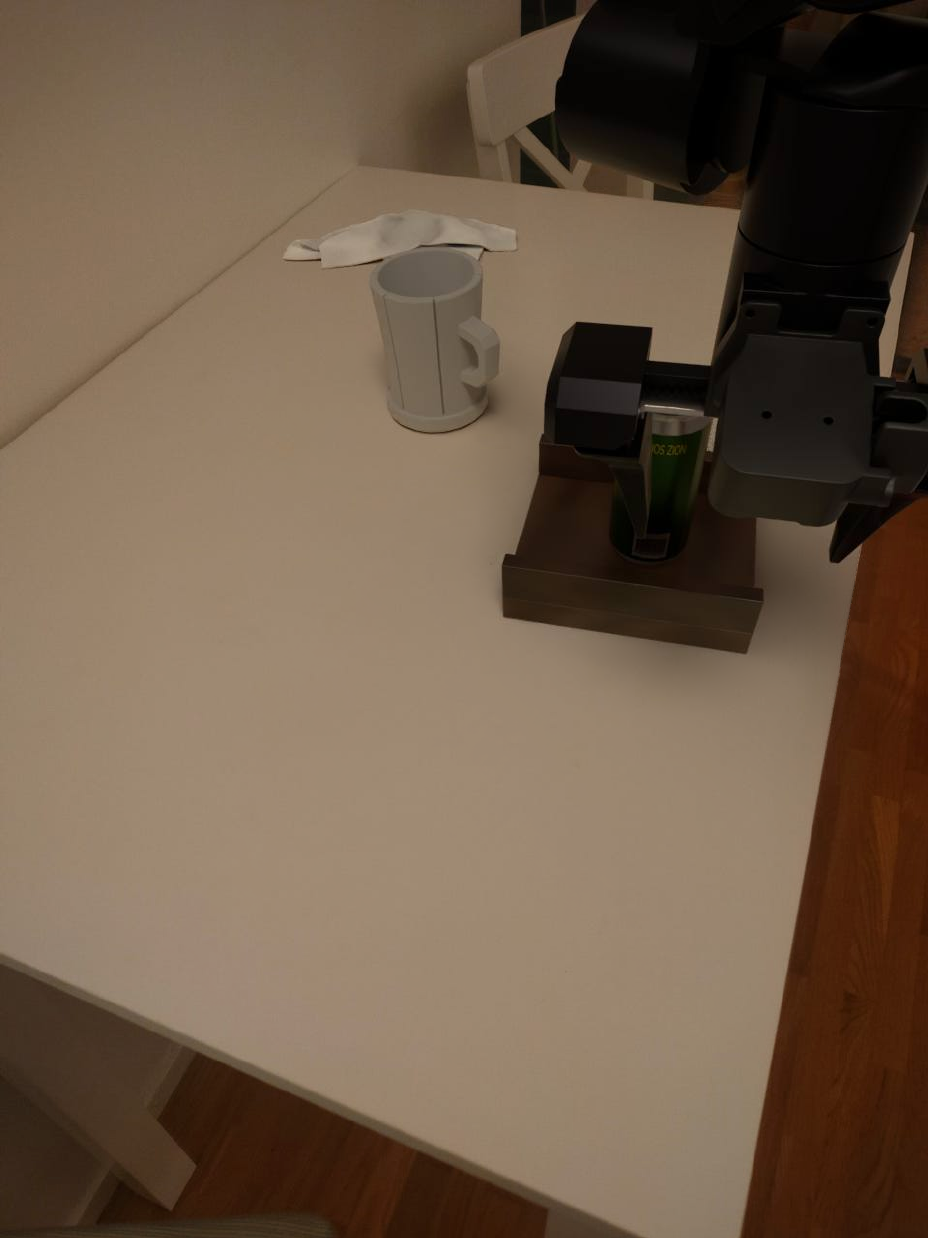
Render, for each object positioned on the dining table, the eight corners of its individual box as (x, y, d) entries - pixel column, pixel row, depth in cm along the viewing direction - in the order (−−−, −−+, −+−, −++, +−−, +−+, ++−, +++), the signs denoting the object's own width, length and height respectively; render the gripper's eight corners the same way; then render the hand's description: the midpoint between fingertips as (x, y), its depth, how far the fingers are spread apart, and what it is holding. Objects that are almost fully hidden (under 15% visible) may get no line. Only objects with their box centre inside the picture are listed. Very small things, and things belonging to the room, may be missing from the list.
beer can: (694, 567, 55) (727, 417, 46) (613, 572, 55) (631, 424, 46) (677, 513, 58) (706, 364, 49) (602, 518, 59) (616, 370, 50)
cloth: (525, 217, 96) (525, 196, 94) (510, 274, 87) (510, 253, 85) (312, 213, 100) (308, 193, 98) (277, 267, 91) (272, 247, 89)
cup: (512, 378, 74) (510, 246, 65) (500, 440, 68) (496, 305, 59) (399, 374, 76) (382, 245, 67) (378, 434, 70) (356, 301, 61)
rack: (752, 510, 61) (767, 456, 57) (746, 654, 52) (763, 602, 49) (540, 485, 64) (541, 432, 61) (502, 617, 56) (501, 565, 52)
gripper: (516, 325, 26) (518, 639, 38) (1194, 379, 22) (961, 708, 34) (572, 180, 33) (560, 483, 45) (1096, 202, 29) (931, 527, 41)
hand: (735, 544), depth 41 cm, fingers open, 9 cm apart
